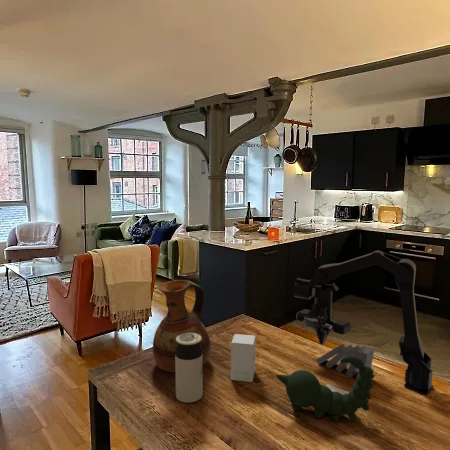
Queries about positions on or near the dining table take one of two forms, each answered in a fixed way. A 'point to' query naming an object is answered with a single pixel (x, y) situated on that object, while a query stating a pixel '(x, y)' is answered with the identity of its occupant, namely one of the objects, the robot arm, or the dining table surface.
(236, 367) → the supplement box
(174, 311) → the ceramic pitcher
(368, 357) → the tile
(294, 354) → the dining table surface
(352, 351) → the tile
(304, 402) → the toy figurine
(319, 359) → the tile
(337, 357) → the tile
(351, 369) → the grey block
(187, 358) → the travel mug
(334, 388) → the tile
